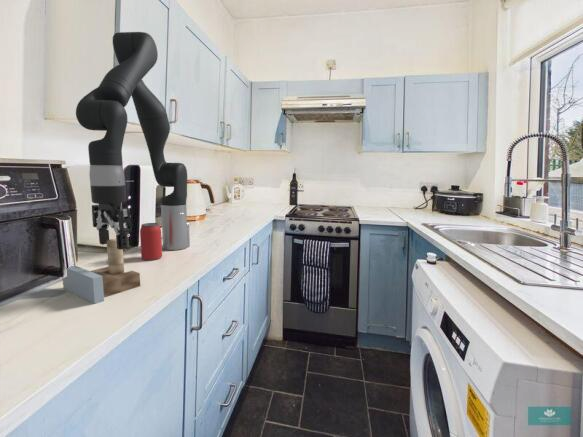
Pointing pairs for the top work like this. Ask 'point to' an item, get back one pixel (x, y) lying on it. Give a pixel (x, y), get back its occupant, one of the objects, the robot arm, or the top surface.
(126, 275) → the block
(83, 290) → the wall
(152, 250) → the beer can
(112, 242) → the dowel
